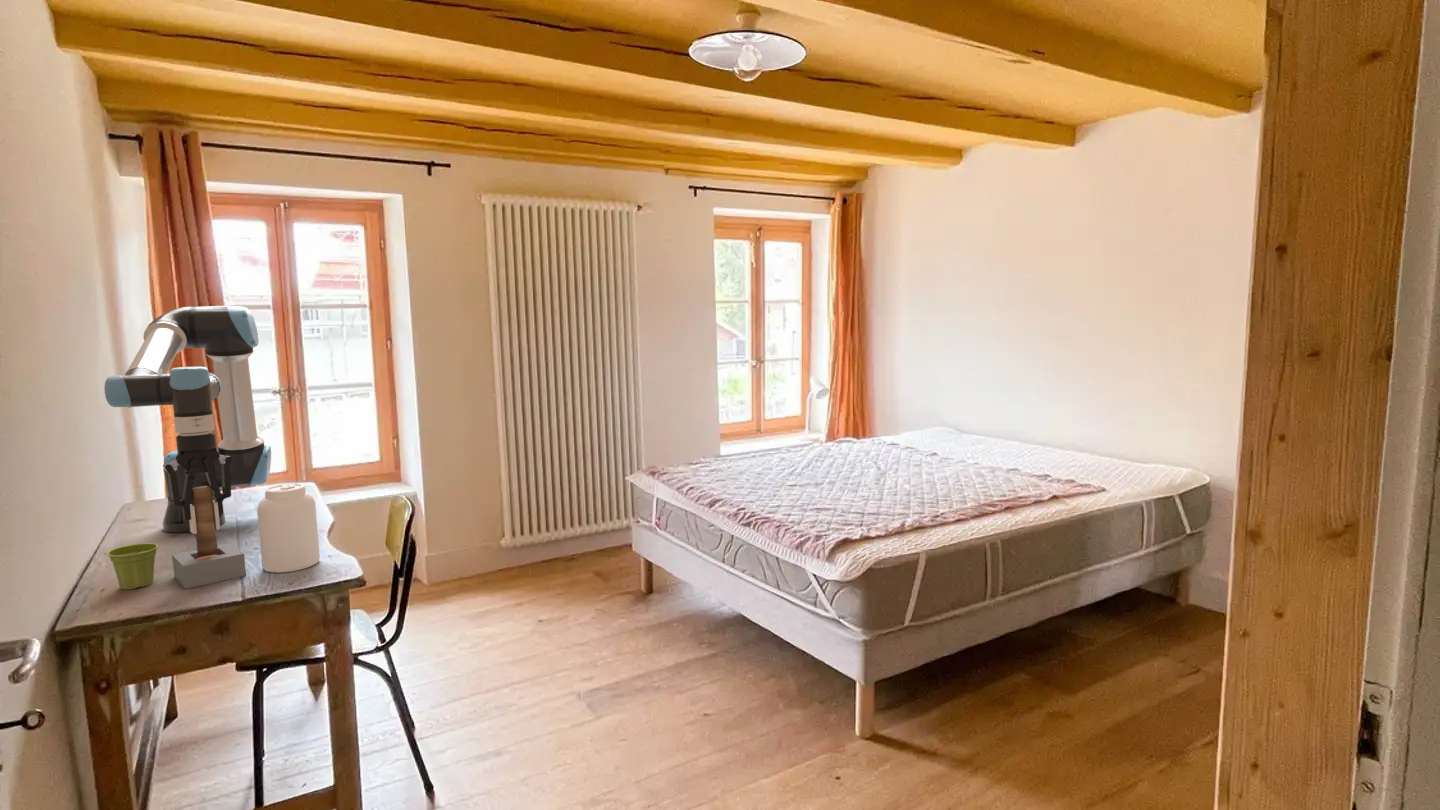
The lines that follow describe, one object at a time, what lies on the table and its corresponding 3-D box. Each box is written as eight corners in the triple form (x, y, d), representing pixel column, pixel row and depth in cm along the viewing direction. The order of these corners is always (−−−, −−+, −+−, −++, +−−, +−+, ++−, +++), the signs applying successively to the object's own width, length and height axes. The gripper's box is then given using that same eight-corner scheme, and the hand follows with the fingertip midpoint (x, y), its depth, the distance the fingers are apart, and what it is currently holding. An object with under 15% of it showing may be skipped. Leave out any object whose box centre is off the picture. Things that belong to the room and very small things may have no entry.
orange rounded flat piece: (194, 565, 180) (193, 558, 180) (218, 560, 184) (217, 553, 183) (199, 570, 177) (198, 563, 176) (224, 565, 180) (223, 557, 180)
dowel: (195, 553, 180) (189, 488, 177) (215, 549, 182) (209, 485, 180) (199, 557, 177) (193, 490, 175) (219, 553, 180) (213, 487, 178)
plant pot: (129, 578, 179) (125, 543, 178) (171, 577, 180) (167, 542, 179) (100, 593, 170) (96, 556, 169) (145, 591, 171) (140, 554, 170)
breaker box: (174, 576, 180) (171, 554, 180) (232, 564, 189) (230, 542, 188) (186, 589, 172) (183, 566, 171) (246, 575, 181) (243, 553, 180)
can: (282, 556, 194) (275, 480, 192) (330, 556, 194) (324, 480, 191) (251, 573, 182) (243, 493, 179) (301, 574, 181) (295, 492, 179)
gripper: (154, 439, 167) (165, 541, 170) (241, 430, 179) (250, 525, 182) (147, 436, 172) (158, 535, 175) (233, 427, 185) (241, 520, 188)
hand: (205, 530), depth 179 cm, fingers closed on dowel, 4 cm apart
